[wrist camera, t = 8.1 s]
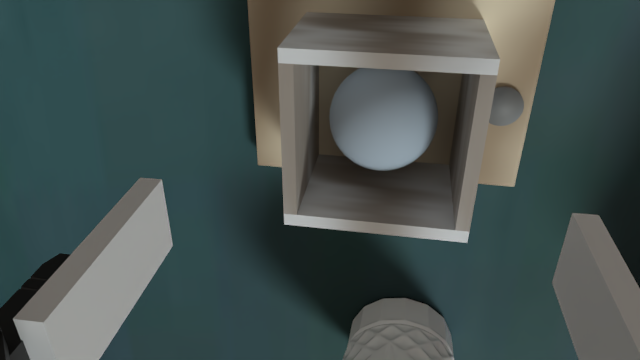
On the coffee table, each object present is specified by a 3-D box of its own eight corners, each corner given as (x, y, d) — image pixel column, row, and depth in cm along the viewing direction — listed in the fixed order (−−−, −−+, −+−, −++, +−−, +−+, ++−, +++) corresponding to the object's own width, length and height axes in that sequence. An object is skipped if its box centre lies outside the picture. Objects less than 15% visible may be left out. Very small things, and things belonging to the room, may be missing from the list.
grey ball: (337, 138, 28) (320, 185, 24) (339, 45, 26) (320, 80, 22) (432, 146, 28) (431, 196, 23) (443, 51, 25) (445, 88, 21)
